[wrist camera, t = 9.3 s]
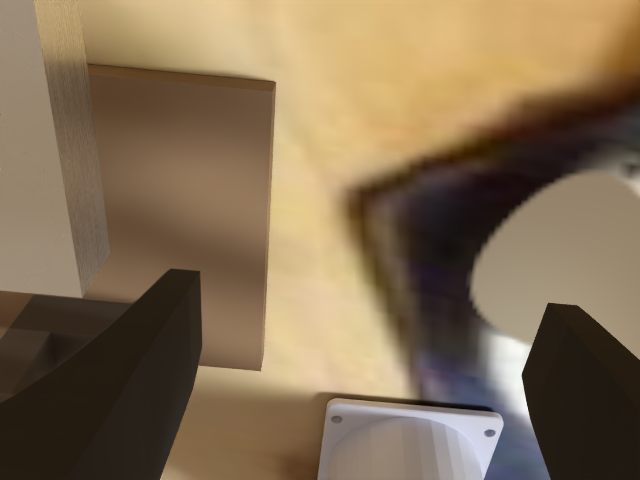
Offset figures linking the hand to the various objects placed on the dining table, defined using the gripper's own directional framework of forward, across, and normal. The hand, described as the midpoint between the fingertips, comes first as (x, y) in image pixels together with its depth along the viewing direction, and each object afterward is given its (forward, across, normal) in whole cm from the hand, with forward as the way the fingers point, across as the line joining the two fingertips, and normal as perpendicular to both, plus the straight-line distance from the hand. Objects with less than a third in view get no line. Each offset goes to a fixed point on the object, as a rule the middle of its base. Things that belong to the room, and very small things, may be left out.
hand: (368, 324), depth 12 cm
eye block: (+9, +9, +5) cm, 14 cm away
